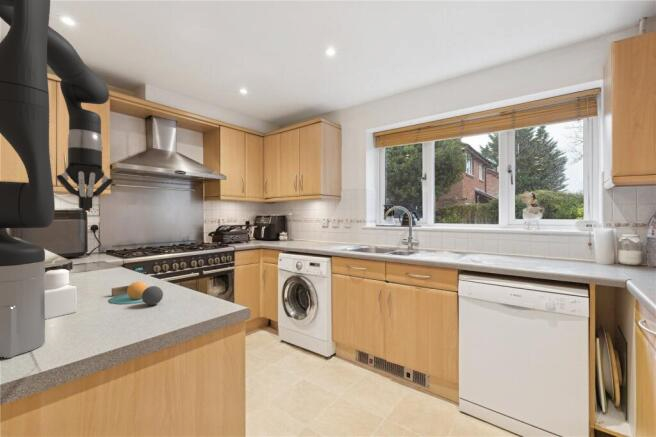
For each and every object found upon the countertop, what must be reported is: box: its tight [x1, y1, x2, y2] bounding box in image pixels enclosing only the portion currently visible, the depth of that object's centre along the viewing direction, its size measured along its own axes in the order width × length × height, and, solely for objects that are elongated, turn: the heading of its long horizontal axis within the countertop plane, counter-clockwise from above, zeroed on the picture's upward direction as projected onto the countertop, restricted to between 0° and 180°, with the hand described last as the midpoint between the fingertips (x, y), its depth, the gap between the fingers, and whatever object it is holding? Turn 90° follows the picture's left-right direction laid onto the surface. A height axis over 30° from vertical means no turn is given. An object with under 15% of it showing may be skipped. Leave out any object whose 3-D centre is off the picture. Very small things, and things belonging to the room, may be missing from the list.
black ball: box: [142, 285, 164, 306], centre depth 90 cm, size 6×6×6 cm
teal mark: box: [108, 294, 144, 305], centre depth 97 cm, size 14×14×1 cm
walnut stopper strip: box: [111, 285, 130, 297], centre depth 102 cm, size 9×1×2 cm, turn 139°
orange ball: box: [127, 281, 148, 300], centre depth 96 cm, size 6×6×6 cm
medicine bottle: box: [45, 267, 78, 321], centre depth 81 cm, size 7×7×12 cm
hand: (85, 210), depth 85 cm, fingers closed
